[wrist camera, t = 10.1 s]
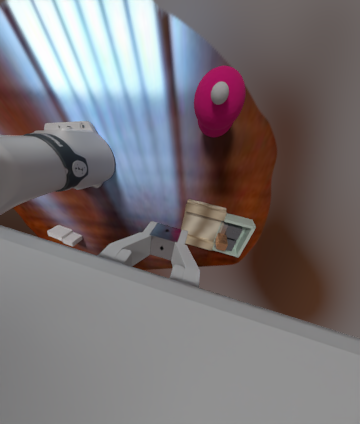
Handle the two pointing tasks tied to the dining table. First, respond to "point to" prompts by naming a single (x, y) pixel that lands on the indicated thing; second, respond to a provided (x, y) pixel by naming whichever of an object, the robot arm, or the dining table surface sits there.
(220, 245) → the block
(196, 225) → the slot board
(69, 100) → the dining table surface
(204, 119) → the pepper mill
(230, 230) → the dark grey block
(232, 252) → the tray
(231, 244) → the chip
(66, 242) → the white stepped block
